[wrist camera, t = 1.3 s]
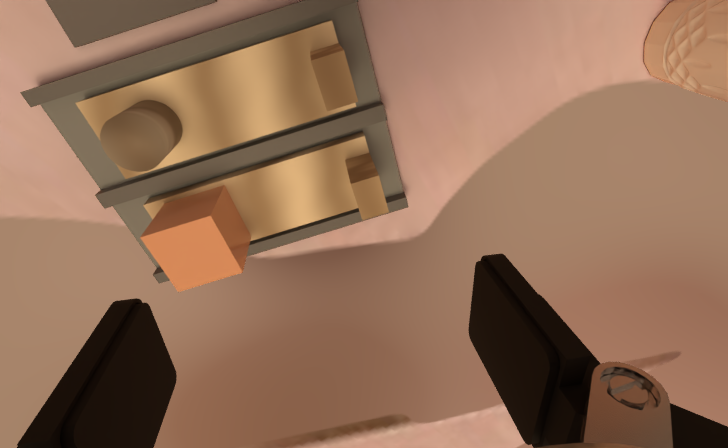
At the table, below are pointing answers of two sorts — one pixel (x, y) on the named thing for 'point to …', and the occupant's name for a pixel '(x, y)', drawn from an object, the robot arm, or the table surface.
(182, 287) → the cube
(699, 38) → the white cup
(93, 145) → the lane board
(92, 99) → the strip near
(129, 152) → the brown post
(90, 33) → the mat
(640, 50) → the table surface
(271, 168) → the strip far
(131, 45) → the table surface
